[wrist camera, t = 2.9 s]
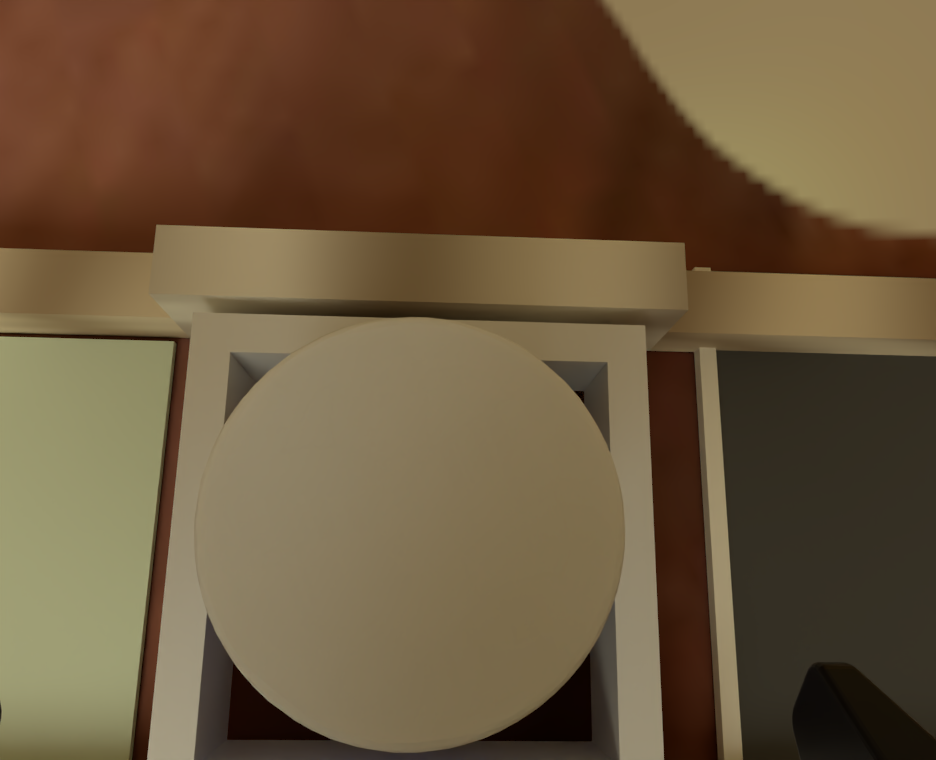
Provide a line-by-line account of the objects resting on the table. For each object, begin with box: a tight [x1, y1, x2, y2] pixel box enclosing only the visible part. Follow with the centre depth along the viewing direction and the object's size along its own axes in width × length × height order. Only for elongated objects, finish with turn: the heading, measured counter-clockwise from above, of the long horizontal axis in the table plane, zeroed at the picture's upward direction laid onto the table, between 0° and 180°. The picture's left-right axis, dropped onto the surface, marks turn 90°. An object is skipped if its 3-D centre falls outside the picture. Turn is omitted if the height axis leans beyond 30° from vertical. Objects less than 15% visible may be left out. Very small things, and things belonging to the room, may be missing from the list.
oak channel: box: [0, 225, 936, 356], centre depth 17 cm, size 28×13×3 cm, turn 89°
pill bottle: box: [194, 317, 625, 753], centre depth 13 cm, size 6×6×10 cm
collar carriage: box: [147, 312, 664, 760], centre depth 16 cm, size 9×9×2 cm
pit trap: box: [692, 267, 936, 760], centre depth 18 cm, size 8×14×1 cm, turn 179°
